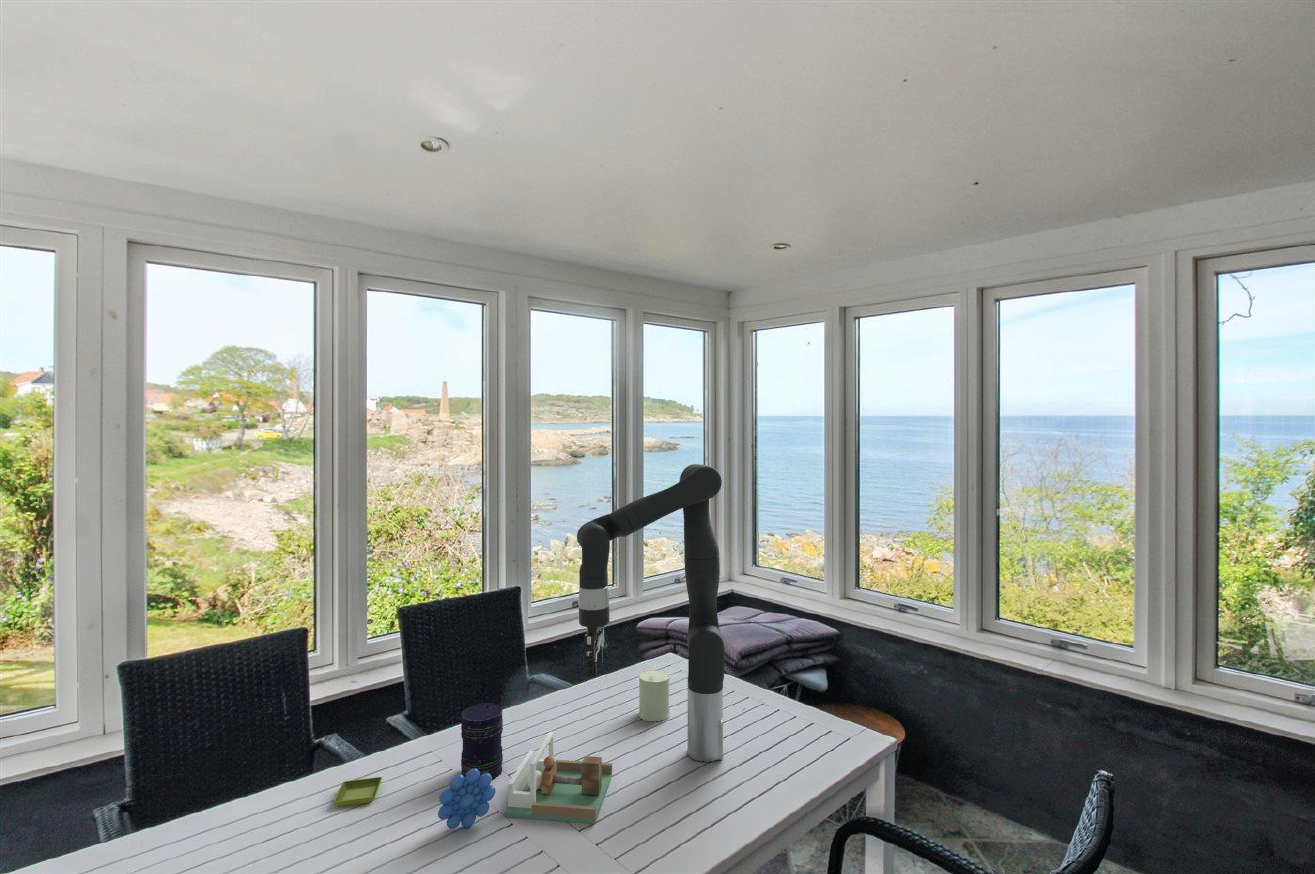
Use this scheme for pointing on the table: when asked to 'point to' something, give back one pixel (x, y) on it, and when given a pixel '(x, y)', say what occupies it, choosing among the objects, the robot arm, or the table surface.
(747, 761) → the table surface
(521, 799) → the pitch
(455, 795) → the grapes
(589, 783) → the kicker
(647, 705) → the can
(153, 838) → the table surface
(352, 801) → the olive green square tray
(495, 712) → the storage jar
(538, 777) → the ball
